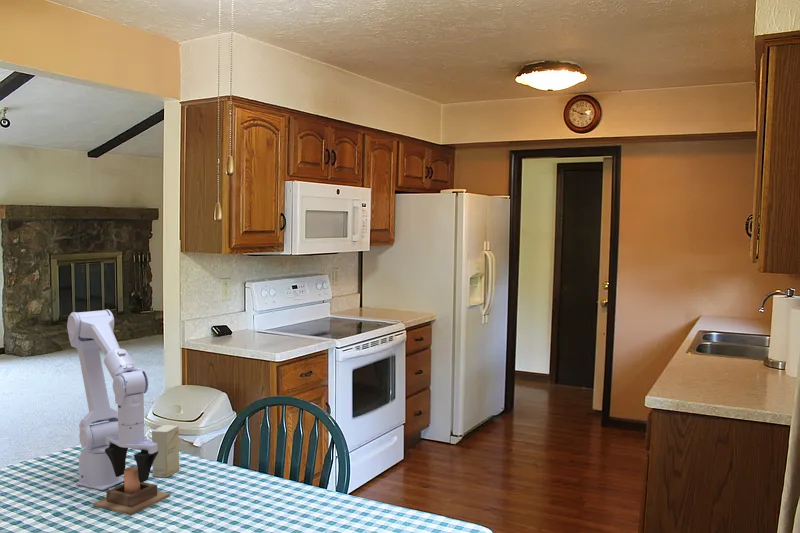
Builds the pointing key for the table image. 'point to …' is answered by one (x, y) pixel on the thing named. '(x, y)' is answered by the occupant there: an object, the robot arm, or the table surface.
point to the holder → (131, 499)
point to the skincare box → (166, 450)
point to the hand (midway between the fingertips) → (131, 478)
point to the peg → (131, 480)
